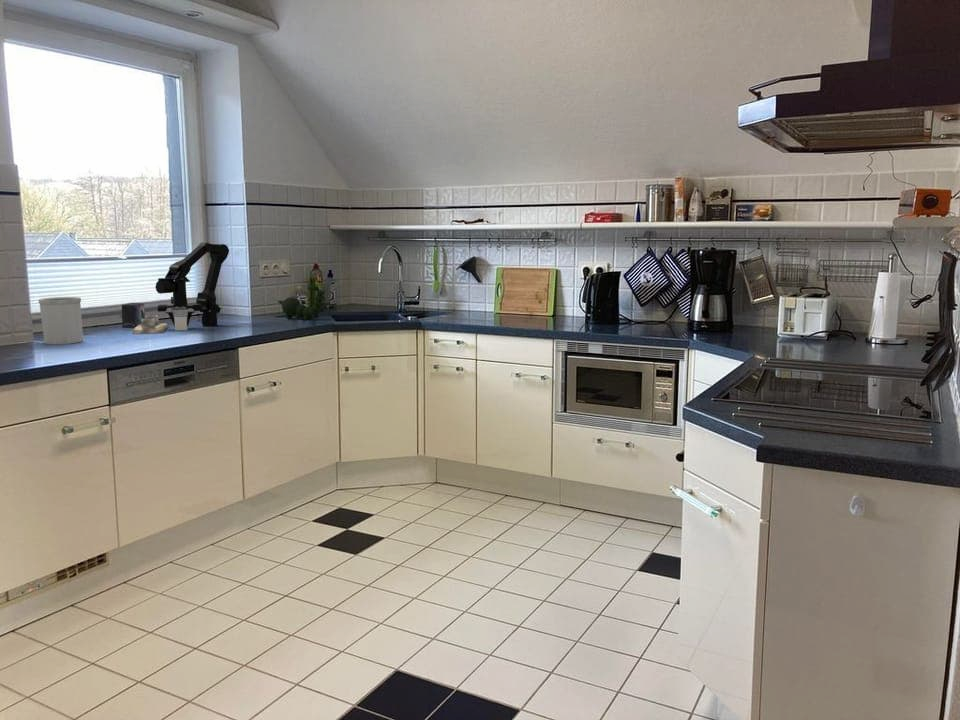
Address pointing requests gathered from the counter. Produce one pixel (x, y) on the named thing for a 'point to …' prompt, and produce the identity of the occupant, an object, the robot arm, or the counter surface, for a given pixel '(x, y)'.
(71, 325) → the utensil holder
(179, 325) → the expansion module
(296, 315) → the toy figurine
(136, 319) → the small box
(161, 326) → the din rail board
